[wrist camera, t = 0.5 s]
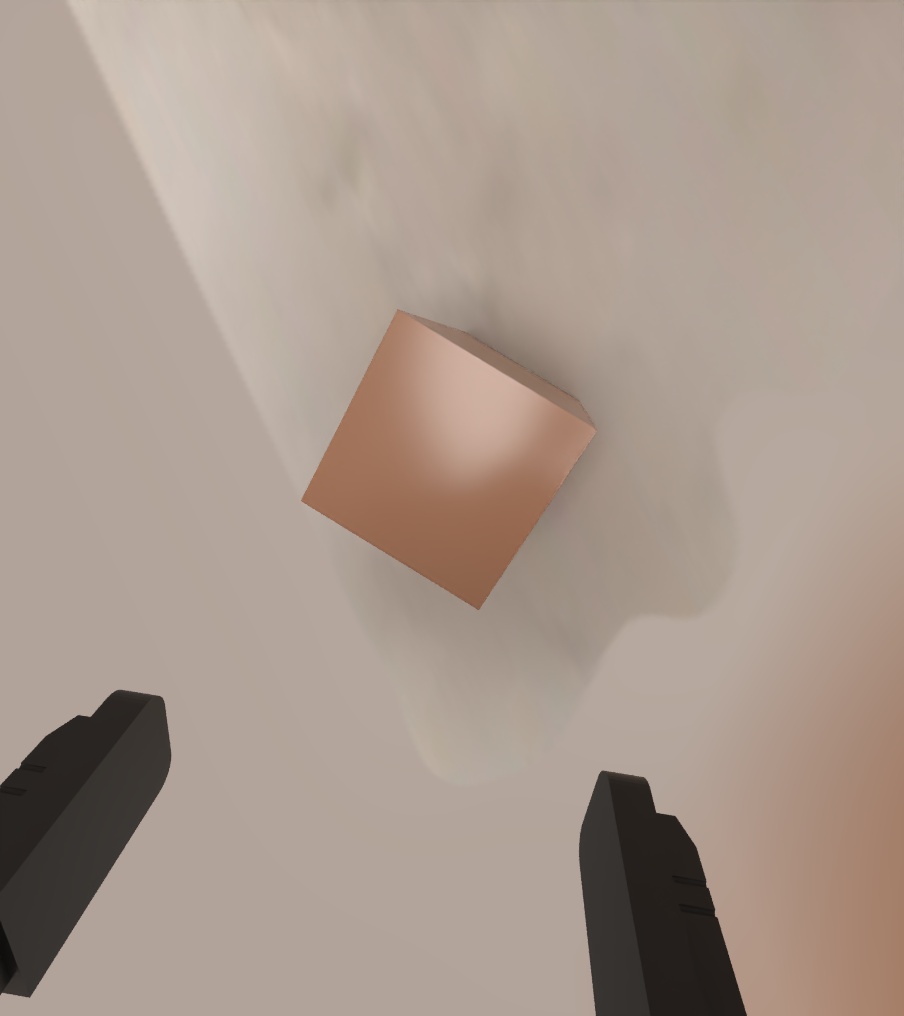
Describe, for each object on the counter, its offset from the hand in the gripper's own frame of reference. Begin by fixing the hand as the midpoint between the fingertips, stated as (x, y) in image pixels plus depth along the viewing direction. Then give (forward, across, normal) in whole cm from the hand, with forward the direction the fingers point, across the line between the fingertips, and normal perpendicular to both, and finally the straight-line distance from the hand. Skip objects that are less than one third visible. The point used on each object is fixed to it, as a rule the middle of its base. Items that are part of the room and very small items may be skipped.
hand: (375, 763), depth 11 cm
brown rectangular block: (+20, -1, 0) cm, 20 cm away
